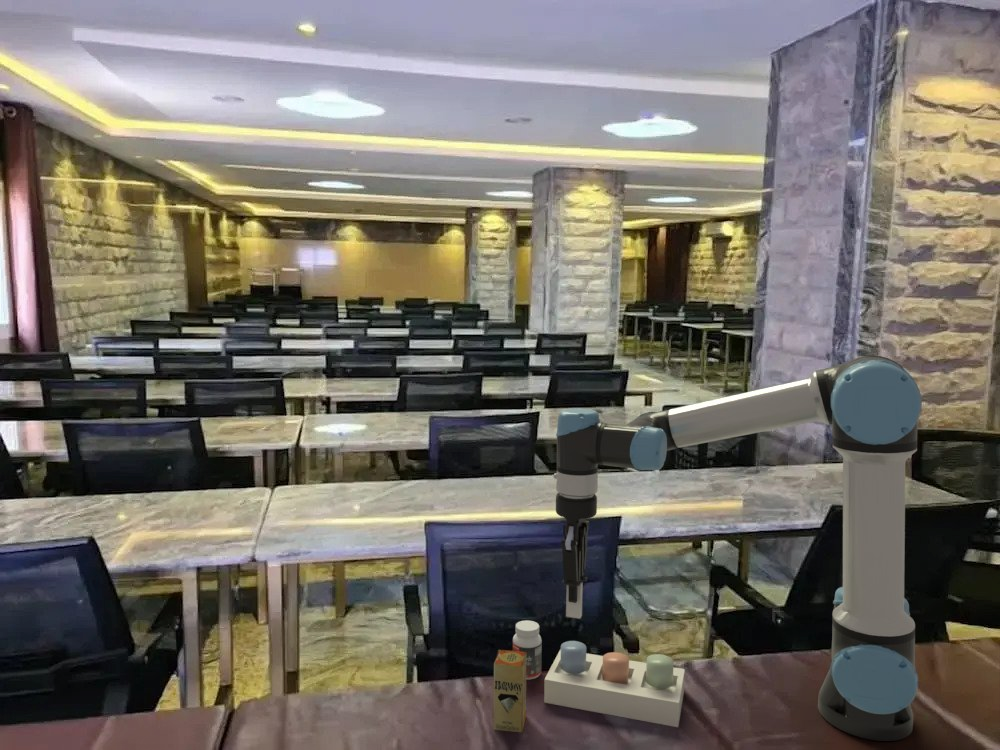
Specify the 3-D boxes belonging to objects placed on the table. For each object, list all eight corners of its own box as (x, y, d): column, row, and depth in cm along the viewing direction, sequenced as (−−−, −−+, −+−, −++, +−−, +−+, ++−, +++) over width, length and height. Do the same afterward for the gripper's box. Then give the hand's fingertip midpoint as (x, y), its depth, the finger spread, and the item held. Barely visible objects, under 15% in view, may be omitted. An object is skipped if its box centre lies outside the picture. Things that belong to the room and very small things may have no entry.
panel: (684, 691, 139) (684, 669, 138) (678, 727, 127) (678, 702, 127) (560, 670, 146) (560, 649, 146) (544, 702, 135) (544, 679, 134)
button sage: (674, 677, 135) (674, 656, 135) (671, 690, 131) (672, 669, 130) (647, 672, 137) (648, 652, 136) (644, 685, 132) (644, 664, 132)
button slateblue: (588, 663, 140) (588, 643, 140) (583, 675, 136) (583, 654, 135) (563, 659, 142) (564, 639, 141) (557, 671, 137) (558, 650, 137)
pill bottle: (507, 676, 144) (507, 628, 143) (520, 663, 149) (520, 616, 148) (533, 683, 141) (534, 634, 140) (546, 670, 146) (546, 622, 145)
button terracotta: (630, 674, 138) (630, 654, 137) (626, 687, 133) (626, 667, 133) (604, 670, 139) (605, 650, 139) (600, 683, 135) (600, 662, 134)
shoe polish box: (498, 713, 131) (498, 649, 130) (526, 716, 131) (526, 651, 129) (493, 729, 127) (493, 663, 125) (522, 732, 126) (522, 666, 124)
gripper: (564, 482, 142) (562, 599, 145) (547, 500, 130) (545, 628, 133) (603, 486, 140) (600, 604, 143) (589, 505, 127) (586, 634, 130)
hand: (573, 615), depth 138 cm, fingers closed
